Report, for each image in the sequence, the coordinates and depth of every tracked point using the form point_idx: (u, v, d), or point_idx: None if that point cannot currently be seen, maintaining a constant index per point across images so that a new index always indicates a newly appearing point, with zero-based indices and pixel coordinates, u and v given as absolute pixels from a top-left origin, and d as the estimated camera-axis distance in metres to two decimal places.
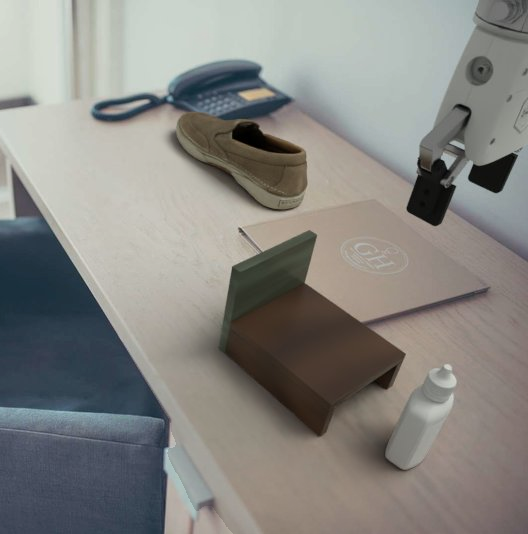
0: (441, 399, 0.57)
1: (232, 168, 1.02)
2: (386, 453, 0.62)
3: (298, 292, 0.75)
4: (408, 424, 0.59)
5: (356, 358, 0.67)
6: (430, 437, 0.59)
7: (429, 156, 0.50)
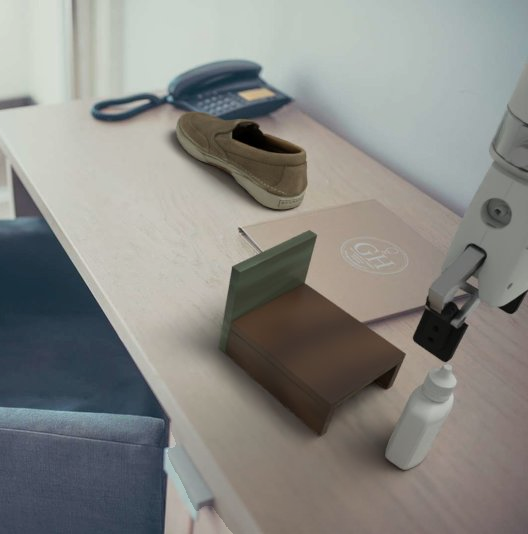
0: (441, 399, 0.57)
1: (232, 168, 1.02)
2: (386, 453, 0.62)
3: (298, 292, 0.75)
4: (408, 424, 0.59)
5: (356, 358, 0.67)
6: (430, 437, 0.59)
7: (439, 301, 0.45)
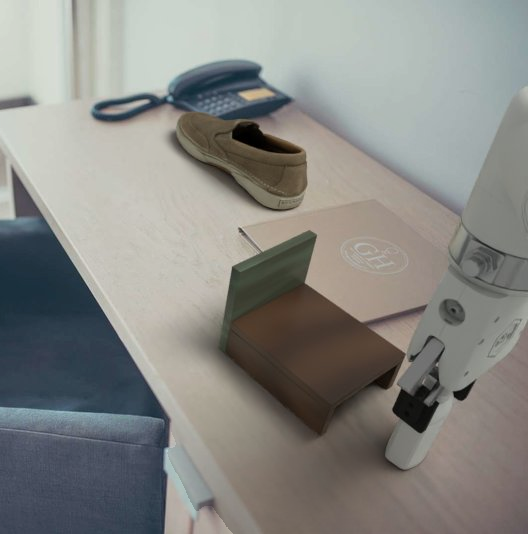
0: (441, 399, 0.57)
1: (232, 168, 1.02)
2: (386, 453, 0.62)
3: (298, 292, 0.75)
4: None
5: (356, 358, 0.67)
6: (430, 437, 0.59)
7: None
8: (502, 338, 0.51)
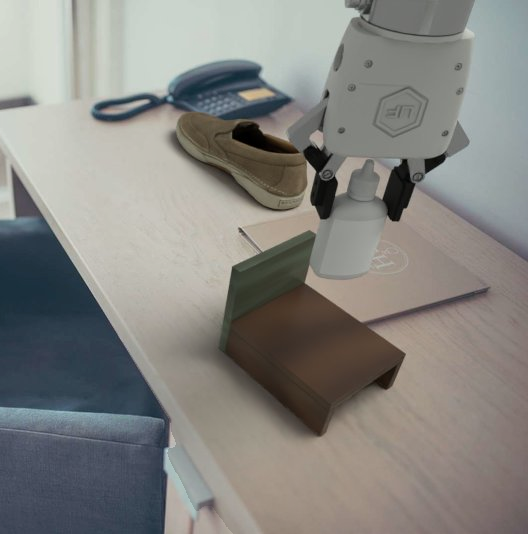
0: (356, 196, 0.57)
1: (232, 168, 1.02)
2: None
3: (298, 292, 0.75)
4: None
5: (356, 358, 0.67)
6: (341, 240, 0.59)
7: None
8: (395, 109, 0.50)
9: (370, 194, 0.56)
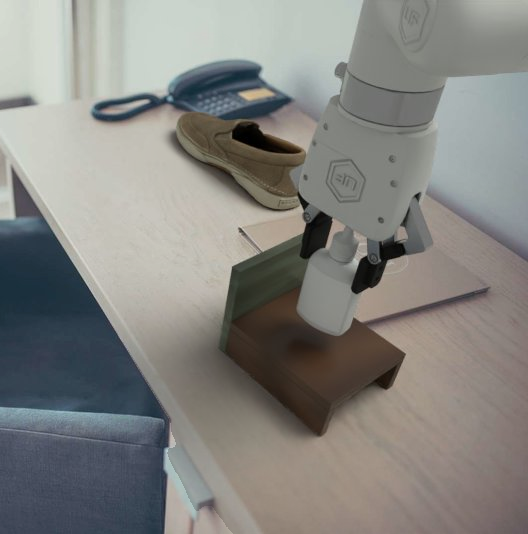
0: (330, 251, 0.62)
1: (232, 168, 1.02)
2: None
3: (298, 292, 0.75)
4: None
5: (356, 358, 0.67)
6: (311, 285, 0.64)
7: None
8: (342, 177, 0.55)
9: (338, 255, 0.61)
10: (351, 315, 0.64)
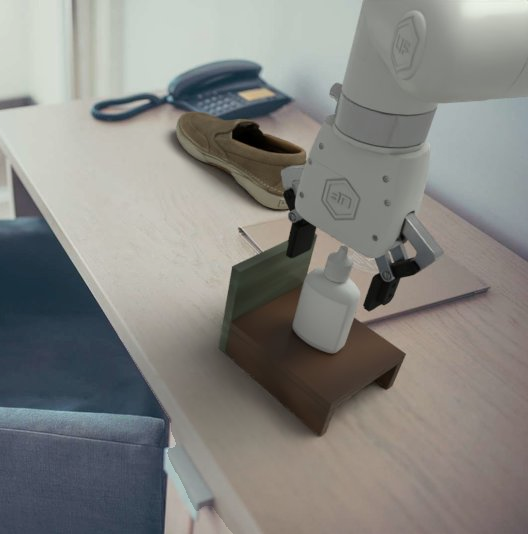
0: (325, 272, 0.63)
1: (232, 168, 1.02)
2: None
3: (298, 292, 0.75)
4: None
5: (356, 358, 0.67)
6: (307, 304, 0.66)
7: None
8: (337, 195, 0.56)
9: (333, 275, 0.62)
10: (346, 333, 0.66)
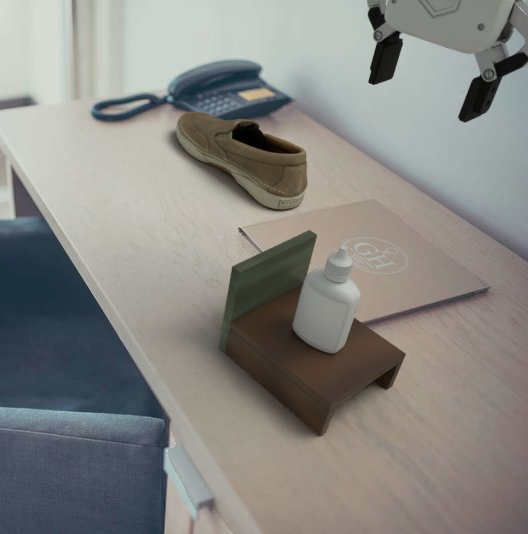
0: (325, 272, 0.63)
1: (232, 168, 1.02)
2: None
3: (298, 292, 0.75)
4: None
5: (356, 358, 0.67)
6: (307, 304, 0.66)
7: None
8: None
9: (333, 275, 0.62)
10: (346, 333, 0.66)
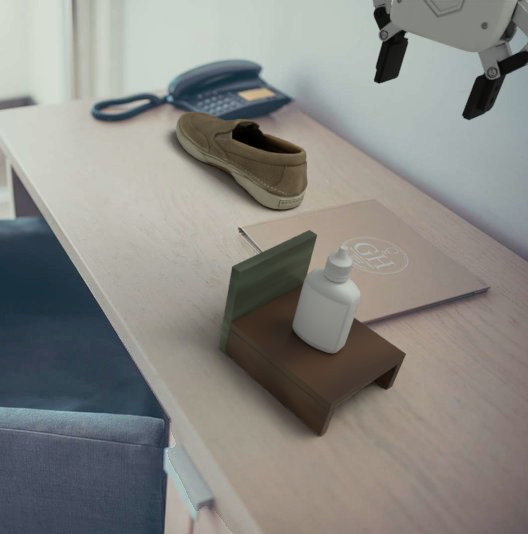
0: (325, 272, 0.63)
1: (232, 168, 1.02)
2: None
3: (298, 292, 0.75)
4: None
5: (356, 358, 0.67)
6: (307, 304, 0.66)
7: None
8: None
9: (333, 275, 0.62)
10: (346, 333, 0.66)
